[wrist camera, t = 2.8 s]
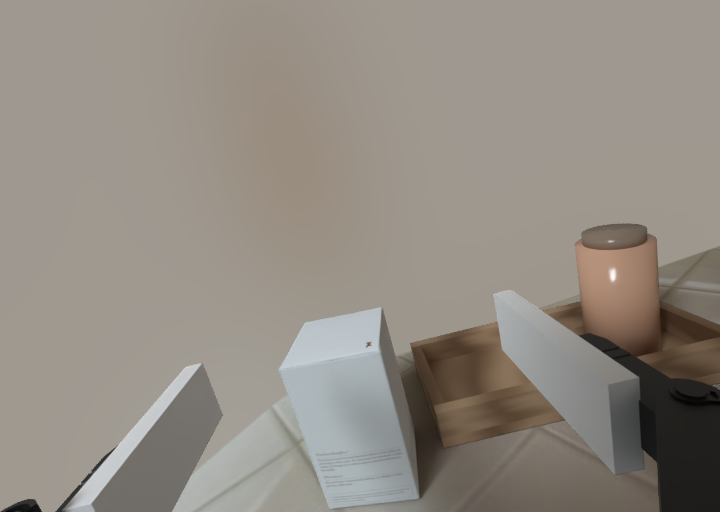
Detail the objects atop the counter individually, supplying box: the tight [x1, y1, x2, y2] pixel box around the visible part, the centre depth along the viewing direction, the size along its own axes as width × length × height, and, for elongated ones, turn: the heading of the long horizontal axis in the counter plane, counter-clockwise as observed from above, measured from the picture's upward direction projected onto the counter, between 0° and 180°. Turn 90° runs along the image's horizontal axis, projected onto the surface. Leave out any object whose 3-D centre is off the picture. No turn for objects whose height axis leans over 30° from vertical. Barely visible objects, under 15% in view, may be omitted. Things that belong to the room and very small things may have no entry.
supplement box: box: [279, 307, 420, 509], centre depth 27 cm, size 7×7×13 cm
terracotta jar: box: [575, 224, 662, 357], centre depth 32 cm, size 6×6×12 cm
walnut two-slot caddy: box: [410, 301, 720, 448], centre depth 34 cm, size 26×12×4 cm, turn 93°
